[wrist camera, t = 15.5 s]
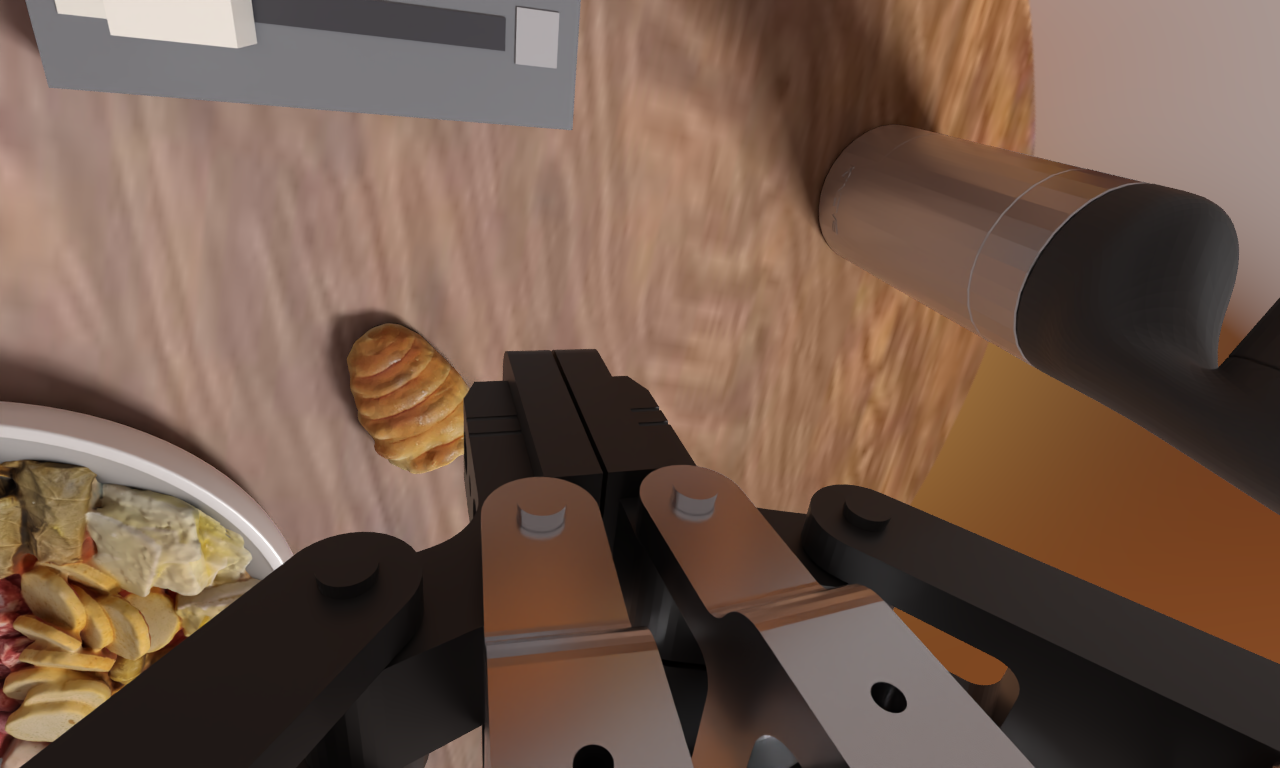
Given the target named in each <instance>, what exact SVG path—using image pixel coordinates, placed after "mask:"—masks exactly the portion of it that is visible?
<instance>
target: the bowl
mask: <svg viewBox="0 0 1280 768" xmlns="http://www.w3.org/2000/svg"><path fill="white" fill-rule="evenodd" d="M292 556H294V555H293V553H292V551H291V549H290V547H289V545H288V543H287V541H286V540H285V538H284V536H283V535H282V533H281V532H280V530H279V529H278V527H277V526H276V524H275V523H274V522H273V520H272V519H271V518H270V517H269V515H268V514H267V513H266V512H265V511H264V509H263V508H262V507H261V506H260V505H259V504H258V503H257V502H256V501H255V500H254V499H253V498H252V497H251V496H250V495H249V494H248V493H246V492H245V491H244V490H243V489H242V488H241V487H240V486H239V485H237V484H236V483H235V482H234V481H232V480H231V479H230V478H228V477H227V476H226V475H224V474H223V473H222V472H220V471H219V470H217V469H216V468H214V467H213V466H211V465H210V464H208V463H206V462H205V461H203V460H201V459H200V458H198V457H196V456H194V455H193V454H191V453H189V452H187V451H185V450H183V449H181V448H179V447H177V446H175V445H173V444H171V443H169V442H167V441H165V440H162V439H160V438H157V437H155V436H153V435H150V434H148V433H145V432H142V431H140V430H137V429H134V428H132V427H129V426H126V425H122V424H119V423H116V422H113V421H110V420H106V419H102V418H99V417H95V416H91V415H87V414H83V413H78V412H73V411H69V410H64V409H58V408H52V407H46V406H40V405H32V404H24V403H15V402H3V401H0V768H19V767H21V766H22V765H23V764H25V763H26V762H27V761H29V760H30V759H31V758H32V757H34V756H35V755H36V754H38V753H39V752H40V751H41V750H43V749H44V748H45V747H47V746H48V745H49V744H50V743H52V742H53V741H54V740H56V739H57V738H58V737H60V736H61V735H62V734H63V733H65V732H66V731H67V730H69V729H70V728H71V727H72V726H74V725H75V724H76V723H78V722H79V721H80V720H82V719H83V718H84V717H85V716H87V715H88V714H89V713H91V712H92V711H93V710H94V709H96V708H97V707H98V706H100V705H101V704H102V703H104V702H105V701H106V700H107V699H109V698H110V697H111V696H113V695H114V694H115V693H116V692H118V691H119V690H120V689H122V688H123V687H124V686H125V685H127V684H128V683H129V682H131V681H132V680H133V679H135V678H136V677H137V676H138V675H140V674H141V673H142V672H144V671H145V670H146V669H147V668H149V667H150V666H151V665H153V664H154V663H155V662H157V661H158V660H159V659H160V658H162V657H163V656H164V655H166V654H167V653H168V652H169V651H171V650H172V649H173V648H175V647H176V646H177V645H178V644H180V643H181V642H182V641H184V640H185V639H186V638H188V637H189V636H190V635H191V634H193V633H194V632H195V631H197V630H198V629H199V628H200V627H202V626H203V625H204V624H206V623H207V622H208V621H210V620H211V619H212V618H213V617H215V616H216V615H217V614H219V613H220V612H221V611H222V610H224V609H225V608H226V607H228V606H229V605H230V604H232V603H233V602H234V601H235V600H237V599H238V598H239V597H241V596H242V595H243V594H244V593H246V592H247V591H248V590H250V589H251V588H252V587H253V586H255V585H256V584H257V583H259V582H260V581H261V580H263V579H264V578H265V577H266V576H268V575H269V574H270V573H272V572H273V571H274V570H275V569H277V568H278V567H279V566H281V565H282V564H283V563H285V562H286V561H287V560H288V559H290V558H291V557H292Z"/></svg>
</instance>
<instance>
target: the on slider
mask: <svg viewBox="0 0 1280 768" xmlns="http://www.w3.org/2000/svg"><path fill="white" fill-rule="evenodd" d="M103 3H104V8H105V12H106V17H107V21H108V26H109V30H110V34H111V35H114V36H123V37H133V38H143V39H152V40H162V41H171V42H181V43H191V44H200V45H210V46H219V47H229V48H241V47H246V46H250V45H254V44H257V38H256V31H255V23H254V16H253V9H252V1H251V0H103Z"/></svg>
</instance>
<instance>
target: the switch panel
mask: <svg viewBox="0 0 1280 768" xmlns="http://www.w3.org/2000/svg"><path fill="white" fill-rule="evenodd" d="M25 1H26V5H27V9H28V12H29V16H30V20H31V23H32V27H33V31H34V34H35V38H36V42H37V46H38V49H39V53H40V57H41V60H42V64H43V68H44V71H45V75H46V79H47V82H48V86H49V88H61V89H74V90H86V91H98V92H110V93H123V94H135V95H147V96H160V97H172V98H184V99H196V100H209V101H221V102H233V103H245V104H258V105H270V106H282V107H294V108H307V109H319V110H331V111H343V112H356V113H368V114H380V115H393V116H405V117H417V118H429V119H442V120H454V121H466V122H478V123H491V124H503V125H515V126H527V127H540V128H552V129H564V130H572V127H573V111H574V95H575V80H576V64H577V49H578V33H579V17H580V2H581V0H251V1H252V9H253V16H254V23H255V31H256V38H257V44H254V45H250V46H246V47H241V48H229V47H219V46H210V45H200V44H191V43H181V42H171V41H162V40H152V39H143V38H133V37H123V36H114V35H111V34H110V30H109V26H108V21H107V17H106V12H105V8H104V3H103V0H25Z"/></svg>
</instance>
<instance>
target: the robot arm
mask: <svg viewBox="0 0 1280 768" xmlns="http://www.w3.org/2000/svg"><path fill="white" fill-rule="evenodd" d="M819 223H820V226H821V230H822V234H823V236H824V238H825V240H826V242H827V244H828V245H829V246H830V248H831V249H832V250H833V251H834V252H835V253H836V254H838V255H840V256H841V257H843V258H845V259H846V260H848V261H850V262H851V263H853V264H855V265H857V266H858V267H860V268H862V269H863V270H865V271H867V272H869V273H870V274H872V275H873V276H875V277H877V278H878V279H880V280H882V281H884V282H885V283H887V284H889V285H891V286H892V287H894V288H896V289H898V290H899V291H901V292H903V293H905V294H906V295H908V296H910V297H912V298H913V299H915V300H917V301H919V302H920V303H922V304H924V305H926V306H927V307H929V308H931V309H933V310H934V311H936V312H938V313H940V314H941V315H943V316H945V317H947V318H948V319H950V320H952V321H954V322H956V323H957V324H959V325H961V326H963V327H964V328H966V329H968V330H970V331H971V332H973V333H975V334H977V335H978V336H980V337H982V338H984V339H985V340H987V341H989V342H991V343H993V344H995V345H997V346H998V347H1000V348H1002V349H1004V350H1005V351H1007V352H1009V353H1010V354H1012V355H1014V356H1016V357H1017V358H1019V359H1021V360H1023V361H1024V362H1026V363H1028V364H1030V365H1031V366H1033V367H1035V368H1037V369H1039V370H1040V371H1042V372H1044V373H1046V374H1048V375H1050V376H1051V377H1053V378H1055V379H1057V380H1059V381H1061V382H1063V383H1064V384H1066V385H1068V386H1070V387H1072V388H1074V389H1076V390H1078V391H1079V392H1081V393H1083V394H1085V395H1087V396H1089V397H1091V398H1093V399H1094V400H1096V401H1098V402H1100V403H1102V404H1103V405H1105V406H1107V407H1109V408H1111V409H1112V410H1114V411H1116V412H1118V413H1119V414H1121V415H1123V416H1125V417H1127V418H1128V419H1130V420H1132V421H1133V422H1135V423H1137V424H1138V425H1140V426H1142V427H1143V428H1145V429H1146V430H1148V431H1150V432H1151V433H1153V434H1154V435H1156V436H1158V437H1159V438H1161V439H1162V440H1164V441H1165V442H1167V443H1169V444H1170V445H1172V446H1173V447H1175V448H1176V449H1178V450H1179V451H1181V452H1183V453H1184V454H1186V455H1187V456H1189V457H1190V458H1192V459H1193V460H1195V461H1196V462H1198V463H1200V464H1201V465H1203V466H1204V467H1206V468H1207V469H1209V470H1210V471H1212V472H1213V473H1215V474H1217V475H1218V476H1220V477H1221V478H1223V479H1224V480H1226V481H1227V482H1229V483H1230V484H1232V485H1234V486H1235V487H1237V488H1238V489H1240V490H1241V491H1243V492H1244V493H1246V494H1247V495H1249V496H1251V497H1252V498H1254V499H1255V500H1257V501H1258V502H1260V503H1261V504H1263V505H1264V506H1266V507H1268V508H1269V509H1271V510H1272V511H1274V512H1276V513H1277V514H1279V515H1280V298H1279V299H1278V300H1277V301H1276V303H1275V304H1274V305H1273V306H1272V307H1271V308H1270V309H1269V310H1268V312H1267V313H1266V314H1265V315H1264V316H1263V317H1262V318H1261V320H1260V321H1259V322H1258V323H1257V324H1256V325H1255V326H1254V328H1253V329H1252V330H1251V331H1250V332H1249V333H1248V334H1247V336H1246V337H1245V338H1244V339H1243V340H1242V341H1241V342H1240V343H1239V345H1238V346H1237V347H1236V348H1235V349H1234V350H1233V351H1232V353H1231V354H1230V355H1229V358H1227V359H1226V360H1225V361H1224V362H1223V363H1222V364H1221V365H1220V366H1219V367H1218V363H1217V362H1218V361H1217V360H1218V355H1217V353H1218V342H1219V335H1220V331H1221V326H1222V323H1223V319H1224V316H1225V312H1226V310H1227V307H1228V304H1229V301H1230V297H1231V294H1232V291H1233V287H1234V284H1235V280H1236V274H1237V269H1238V260H1239V244H1238V238H1237V234H1236V231H1235V228H1234V225H1233V223H1232V221H1231V219H1230V218H1229V216H1228V215H1227V214H1226V212H1225V211H1224V210H1223V209H1222V208H1221V207H1219V206H1218V205H1217V204H1215V203H1213V202H1212V201H1210V200H1208V199H1206V198H1204V197H1202V196H1199V195H1196V194H1192V193H1189V192H1186V191H1182V190H1178V189H1173V188H1169V187H1165V186H1161V185H1156V184H1149V183H1145V182H1141V181H1137V180H1133V179H1128V178H1124V177H1120V176H1115V175H1111V174H1107V173H1103V172H1099V171H1094V170H1090V169H1084V168H1080V167H1076V166H1072V165H1067V164H1063V163H1059V162H1055V161H1051V160H1047V159H1043V158H1038V157H1034V156H1030V155H1026V154H1022V153H1017V152H1013V151H1009V150H1005V149H1001V148H997V147H992V146H988V145H984V144H980V143H976V142H972V141H967V140H963V139H959V138H955V137H951V136H948V135H943V134H939V133H935V132H931V131H926V130H922V129H918V128H914V127H909V126H904V125H895V124H893V125H886V126H880V127H878V128H875V129H873V130H870V131H868V132H866V133H865V134H863V135H861V136H860V137H858V138H857V139H855V140H854V141H853V142H852V143H851V144H850V145H849V146H848V147H847V148H846V149H845V150H844V151H843V152H842V153H841V154H840V156H839V157H838V158H837V160H836V161H835V162H834V164H833V166H832V167H831V169H830V171H829V173H828V175H827V177H826V179H825V182H824V185H823V188H822V192H821V196H820V203H819ZM463 413H464V481H465V489H466V497H467V505H468V513H469V519H470V523H469V524H468V525H467V526H466V527H465V528H464V529H463V530H462V531H461V532H460V533H458V534H457V535H455V536H454V537H452V538H451V539H449V540H447V541H445V542H443V543H441V544H438V545H436V546H433V547H431V548H428V549H425V550H422V551H419V552H416V551H415V550H414V549H413V548H412V547H411V546H410V545H408V544H407V543H406V542H404V541H402V540H400V539H398V538H396V537H393V536H390V535H387V534H382V533H375V532H355V533H347V534H341V535H336V536H333V537H329V538H326V539H323V540H321V541H318V542H316V543H314V544H312V545H310V546H308V547H306V548H304V549H302V550H301V551H299V552H298V553H297V554H295V555H294V556H292V557H291V558H290V559H288V560H287V561H286V562H285V563H283V564H282V565H281V566H279V567H278V568H277V569H275V570H274V571H273V572H272V573H270V574H269V575H268V576H266V577H265V578H264V579H263V580H261V581H260V582H259V583H257V584H256V585H255V586H253V587H252V588H251V589H250V590H248V591H247V592H246V593H244V594H243V595H242V596H241V597H239V598H238V599H237V600H235V601H234V602H233V603H232V604H230V605H229V606H228V607H226V608H225V609H224V610H222V611H221V612H220V613H219V614H217V615H216V616H215V617H213V618H212V619H211V620H210V621H208V622H207V623H206V624H204V625H203V626H202V627H200V628H199V629H198V630H197V631H195V632H194V633H193V634H191V635H190V636H189V637H188V638H186V639H185V640H184V641H182V642H181V643H180V644H178V645H177V646H176V647H175V648H173V649H172V650H171V651H169V652H168V653H167V654H166V655H164V656H163V657H162V658H160V659H159V660H158V661H157V662H155V663H154V664H153V665H151V666H150V667H149V668H147V669H146V670H145V671H144V672H142V673H141V674H140V675H138V676H137V677H136V678H135V679H133V680H132V681H131V682H129V683H128V684H127V685H125V686H124V687H123V688H122V689H120V690H119V691H118V692H116V693H115V694H114V695H113V696H111V697H110V698H109V699H107V700H106V701H105V702H104V703H102V704H101V705H100V706H98V707H97V708H96V709H94V710H93V711H92V712H91V713H89V714H88V715H87V716H85V717H84V718H83V719H82V720H80V721H79V722H78V723H76V724H75V725H74V726H72V727H71V728H70V729H69V730H67V731H66V732H65V733H63V734H62V735H61V736H60V737H58V738H57V739H56V740H54V741H53V742H52V743H50V744H49V745H48V746H47V747H45V748H44V749H43V750H41V751H40V752H39V753H38V754H36V755H35V756H34V757H32V758H31V759H30V760H29V761H27V762H26V763H25V764H23V765H22V766H21V767H19V768H424V767H425V765H426V762H427V760H428V756H429V753H431V752H433V751H434V750H436V749H438V748H440V747H442V746H444V745H446V744H448V743H449V742H451V741H453V740H455V739H457V738H459V737H461V736H462V735H464V734H466V733H468V732H470V731H472V730H474V729H476V728H477V727H479V726H481V750H482V768H1280V664H1278V663H1276V662H1273V661H1271V660H1269V659H1266V658H1264V657H1262V656H1259V655H1257V654H1255V653H1252V652H1250V651H1248V650H1245V649H1243V648H1241V647H1238V646H1236V645H1233V644H1231V643H1229V642H1227V641H1224V640H1222V639H1220V638H1217V637H1215V636H1213V635H1210V634H1208V633H1206V632H1203V631H1201V630H1199V629H1196V628H1194V627H1192V626H1189V625H1187V624H1185V623H1182V622H1180V621H1178V620H1175V619H1173V618H1171V617H1168V616H1166V615H1164V614H1161V613H1159V612H1156V611H1154V610H1152V609H1150V608H1147V607H1145V606H1143V605H1140V604H1138V603H1136V602H1133V601H1131V600H1129V599H1126V598H1124V597H1122V596H1119V595H1117V594H1114V593H1112V592H1110V591H1108V590H1105V589H1103V588H1101V587H1098V586H1096V585H1094V584H1092V583H1089V582H1087V581H1085V580H1082V579H1080V578H1078V577H1075V576H1073V575H1071V574H1068V573H1066V572H1064V571H1061V570H1059V569H1056V568H1054V567H1052V566H1050V565H1047V564H1045V563H1042V562H1040V561H1038V560H1036V559H1033V558H1031V557H1029V556H1026V555H1024V554H1022V553H1019V552H1017V551H1014V550H1012V549H1010V548H1007V547H1005V546H1003V545H1001V544H998V543H996V542H994V541H991V540H989V539H986V538H984V537H982V536H979V535H977V534H975V533H972V532H970V531H968V530H965V529H963V528H961V527H959V526H956V525H954V524H952V523H949V522H947V521H945V520H942V519H940V518H938V517H935V516H933V515H930V514H928V513H926V512H924V511H921V510H919V509H917V508H914V507H912V506H910V505H907V504H905V503H903V502H900V501H898V500H896V499H893V498H891V497H889V496H886V495H884V494H882V493H879V492H877V491H874V490H871V489H868V488H864V487H860V486H854V485H832V486H827V487H824V488H822V489H820V490H818V491H817V492H816V493H815V494H814V495H813V497H812V498H811V502H810V505H809V508H808V512H807V514H801V513H793V512H785V511H776V510H768V509H762V508H756V507H755V505H754V504H753V503H752V502H751V501H750V499H749V498H748V497H747V496H746V494H745V493H744V492H743V491H742V490H741V488H740V487H739V486H738V485H737V484H736V483H734V482H733V481H732V480H730V479H729V478H727V477H726V476H724V475H722V474H720V473H718V472H716V471H713V470H710V469H707V468H703V467H699V466H696V464H695V463H694V461H693V460H692V458H691V457H690V455H689V453H688V452H687V450H686V449H685V447H684V446H683V444H682V442H681V441H680V439H679V438H678V436H677V435H676V433H675V431H674V430H673V428H672V427H671V425H668V420H667V419H666V417H665V416H664V414H663V413H662V411H661V410H659V406H658V405H657V403H656V402H655V400H654V398H653V397H652V395H651V394H650V392H649V391H648V390H647V389H646V388H644V387H643V386H641V385H640V384H638V383H637V382H635V381H634V380H632V379H631V378H629V377H628V376H614V377H612V376H611V374H610V372H609V370H608V369H607V367H606V365H605V363H604V361H603V360H602V358H601V356H600V354H599V353H598V351H597V350H596V349H575V350H552V351H550V350H539V351H505V354H504V360H503V381H487V382H474V384H473V385H472V387H471V388H470V390H469V391H468V393H467V394H466V396H465V397H464V399H463ZM894 607H896V608H898V609H900V610H902V611H904V612H906V613H908V614H910V615H912V616H914V617H916V618H918V619H920V620H922V621H924V622H926V623H928V624H930V625H932V626H934V627H936V628H938V629H940V630H941V631H944V632H946V633H947V634H949V635H951V636H953V637H955V638H957V639H959V640H961V641H964V642H965V643H967V644H969V645H971V646H973V647H975V648H977V649H979V650H981V651H983V652H985V653H987V654H989V655H991V656H993V657H995V658H997V659H998V660H1000V661H1001V662H1003V663H1004V664H1005V665H1006V666H1008V669H1007V671H1006V673H1005V675H1004V676H1003V678H1002V679H1001V680H1000V681H999V682H997V683H995V684H992V685H977V684H973V683H970V682H968V681H966V680H964V679H962V678H960V677H958V676H956V675H954V674H952V673H950V672H949V671H947V670H946V669H945V668H944V667H943V665H941V663H940V662H939V661H938V660H937V659H936V658H935V657H934V656H933V654H932V653H931V652H930V651H929V650H928V649H927V648H926V647H925V646H924V645H923V643H922V642H921V641H920V640H919V639H918V638H917V637H916V636H915V635H914V633H913V632H912V631H911V630H910V629H909V628H908V627H907V626H906V625H905V623H904V622H903V621H902V620H901V619H900V618H899V617H898V616H897V615H896V614H895V612H894V611H893V608H894Z"/></svg>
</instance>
